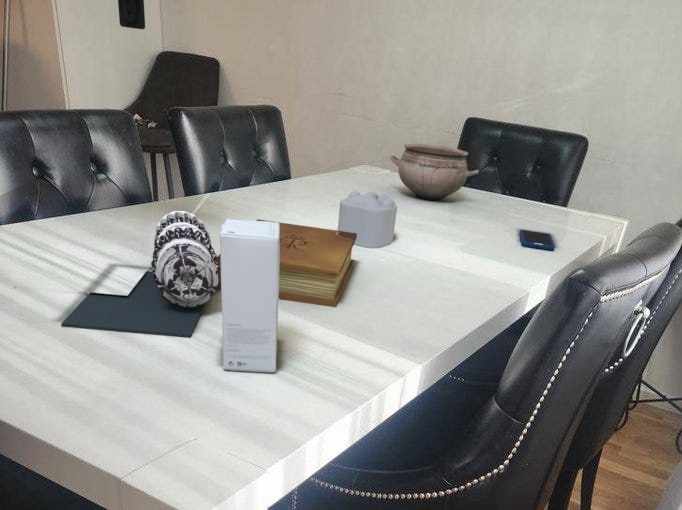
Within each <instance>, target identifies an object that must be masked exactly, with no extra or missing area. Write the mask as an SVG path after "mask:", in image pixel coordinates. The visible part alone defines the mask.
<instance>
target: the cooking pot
mask: <svg viewBox="0 0 682 510" xmlns="http://www.w3.org/2000/svg"><path fill="white" fill-rule="evenodd" d="M403 147H404V148H405V150H404V152H403V153H402V156H401V157H400V158H399V157H397V156H395V155H390V156H389V160H390V161H391V162H392V163H393V164H395V166H397V167H398V171H397V172H398V176H399V179H400V181H401V182H402V183H403V185H404V186H405V187H406V188H407V189H408V190H409V191H410V192H411V193H413V194H414V195H415V196H416V197H417V198H419V199H422V200H427V201H440V200H442V199H444V198H446V197H448V196H451V195H452V194H455V193H457V192H458V191H459V190H460V189H461V188H462V187H463V186H464V185H465V183H466V181H467V178H470V177H472V176H476V175H478V174H479V172H480V169H475V170H468V164H467V163H468V162H467V156H468V155H469V152H468V151H465V150H462V149H458V148H454V147H449V146H444V145H443V146H442V145H437V144H428V143H404V145H403Z"/></svg>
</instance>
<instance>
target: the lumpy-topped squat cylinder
mask: <svg viewBox="0 0 682 510" xmlns="http://www.w3.org/2000/svg"><path fill="white" fill-rule="evenodd" d="M397 211H398V205H397V203H396V202H395V201H394V199H392V198H390V197H389V195H388V194H386V193H382V194H380V195H378V193H377V192H375V191H369V192H367V193H366V194H361V193H360V192H359V191H357V190H353V191H351V192H350V193H349V194H348V196H347V197H346V198H343V199H340V202H339V211H338V223H337V231H344V232H351V233H357V239H356V241H355V243H354V245H356V246H359V247H362V248H367V249H379V248H380V249H381V248H384V247H387V246H389V245H391V244H393V242H394V234H395V226H396V221H397V220H396V219H397Z"/></svg>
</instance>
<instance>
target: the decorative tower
mask: <svg viewBox="0 0 682 510" xmlns="http://www.w3.org/2000/svg"><path fill="white" fill-rule="evenodd" d="M154 233H155V234H154V239H153V241H154V242H153V245H154V249H153V252H152V261H151V262H150V265H151V272H153V276H154V281H155V282H156V283H157V285H158V287H159V289H160V290H161V292H162V294H163V295H164V296H165V297H166V298H167V299H169V300H170V301H171V302H172V303H174V304H177V305H181V306H184V307H192V306H199V305H201V304H203V303H205V302H206V303H207V302H208V301H209V300H210V299H211V298H212V297H213V296H214V294H216V291H217V288H218V286H217V284H218V272H217V271H218V269H219V265H218V263H217V262H216V259H217V257H218V255H217V253H216V252H215V248H214V247H213V246H212V241H211V237H210V233H209V232H208V230H207V228H206V225H205V224H204V222H203V221H202V220H201V219H200V218H199V217H197V216H196V215H195V214H193V213H190V212H189V211H185V210H173V211H170V212H169V213H167V214H165V215H163V217H162V218H161V219H160V221H158V223H157V226H156V228H155V232H154Z"/></svg>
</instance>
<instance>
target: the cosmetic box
mask: <svg viewBox="0 0 682 510" xmlns="http://www.w3.org/2000/svg"><path fill="white" fill-rule="evenodd" d="M266 221H267V220H266ZM266 221H256V220H245V219H234V218H233V219H232V218H226V219H225V221H224V223H223V224H221V225H220V228H221V230H220V233H219V251H220V253H219V255H220V258H221V290H220V294H221V322H222V323H221V325H222V367H223V370H225V371H232V372H233V371H234V372H250V373H251V372H252V373H276V371H277V355H278V333H279V331H278V329H279V328H278V327H279V300H280V299H279V260H280V225H279V223H277V222H278V221H273V222H266Z"/></svg>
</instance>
